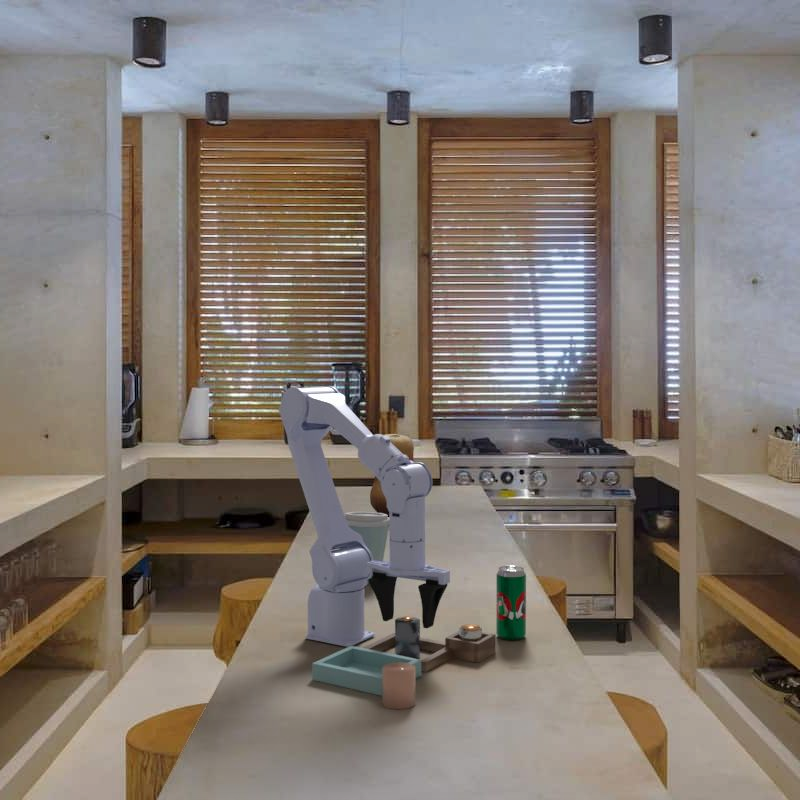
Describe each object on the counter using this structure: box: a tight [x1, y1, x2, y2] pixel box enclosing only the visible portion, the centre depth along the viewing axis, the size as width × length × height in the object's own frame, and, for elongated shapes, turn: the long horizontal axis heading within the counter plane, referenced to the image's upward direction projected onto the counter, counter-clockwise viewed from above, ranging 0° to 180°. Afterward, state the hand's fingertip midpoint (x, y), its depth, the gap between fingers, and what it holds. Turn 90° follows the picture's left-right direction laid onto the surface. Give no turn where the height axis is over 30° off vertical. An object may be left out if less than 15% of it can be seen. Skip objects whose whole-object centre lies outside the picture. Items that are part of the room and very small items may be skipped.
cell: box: [394, 615, 421, 659], centre depth 149 cm, size 4×4×6 cm
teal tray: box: [311, 645, 422, 697], centre depth 139 cm, size 13×10×2 cm
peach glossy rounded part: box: [382, 662, 416, 710], centre depth 129 cm, size 5×5×5 cm
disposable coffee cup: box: [344, 511, 390, 585], centre depth 200 cm, size 11×11×15 cm
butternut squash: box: [369, 433, 415, 516], centre depth 280 cm, size 14×13×25 cm
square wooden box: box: [444, 630, 497, 664], centre depth 150 cm, size 6×6×3 cm
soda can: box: [495, 565, 527, 642], centre depth 159 cm, size 5×5×12 cm
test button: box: [458, 623, 483, 642], centre depth 150 cm, size 4×4×3 cm
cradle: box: [362, 632, 453, 673], centre depth 149 cm, size 12×10×2 cm
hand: (407, 623), depth 149 cm, fingers open, 7 cm apart
